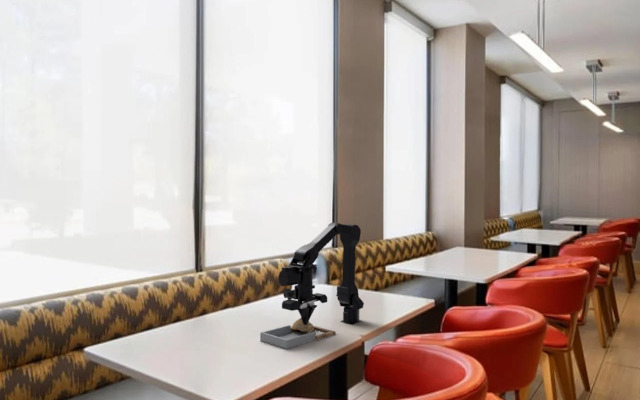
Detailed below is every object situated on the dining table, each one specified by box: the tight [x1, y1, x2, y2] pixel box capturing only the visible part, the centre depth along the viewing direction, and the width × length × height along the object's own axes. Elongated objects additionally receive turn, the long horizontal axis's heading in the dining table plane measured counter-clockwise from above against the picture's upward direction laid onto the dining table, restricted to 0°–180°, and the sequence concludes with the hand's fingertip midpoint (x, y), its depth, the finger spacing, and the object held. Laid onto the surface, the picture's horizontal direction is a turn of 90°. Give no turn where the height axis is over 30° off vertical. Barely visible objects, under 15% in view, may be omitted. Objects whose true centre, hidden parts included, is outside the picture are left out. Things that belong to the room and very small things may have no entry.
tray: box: [259, 324, 317, 350], centre depth 176 cm, size 14×14×3 cm
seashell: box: [291, 317, 315, 334], centre depth 186 cm, size 8×6×8 cm
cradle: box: [291, 325, 336, 341], centre depth 185 cm, size 9×16×2 cm, turn 46°
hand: (305, 324), depth 183 cm, fingers closed
